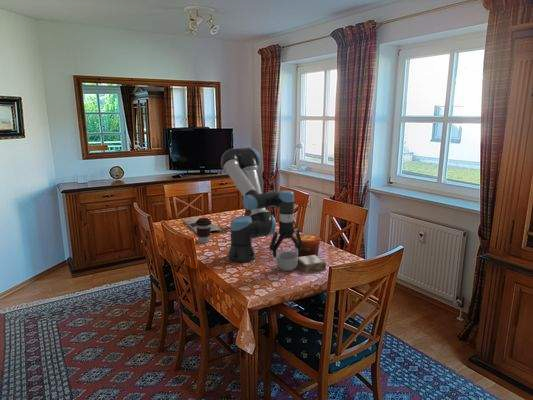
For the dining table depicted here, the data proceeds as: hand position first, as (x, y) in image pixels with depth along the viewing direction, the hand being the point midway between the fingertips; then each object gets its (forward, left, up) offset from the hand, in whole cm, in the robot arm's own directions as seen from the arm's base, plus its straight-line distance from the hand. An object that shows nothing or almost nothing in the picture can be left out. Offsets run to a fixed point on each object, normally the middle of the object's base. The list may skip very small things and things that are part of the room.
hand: (286, 261), depth 194 cm
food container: (+19, +14, -4) cm, 24 cm away
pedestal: (+13, -3, -4) cm, 14 cm away
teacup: (+1, 0, -4) cm, 4 cm away
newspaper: (-28, +90, -5) cm, 94 cm away
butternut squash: (+6, +76, -4) cm, 76 cm away
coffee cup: (-33, +57, -4) cm, 66 cm away
